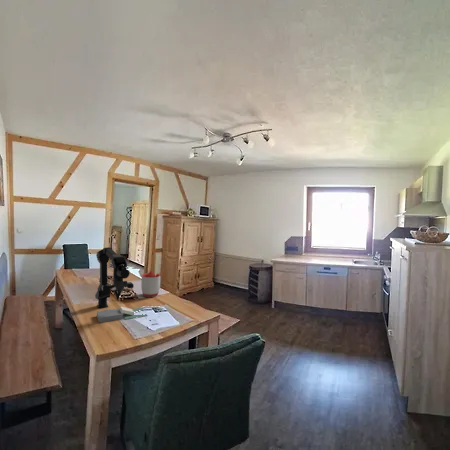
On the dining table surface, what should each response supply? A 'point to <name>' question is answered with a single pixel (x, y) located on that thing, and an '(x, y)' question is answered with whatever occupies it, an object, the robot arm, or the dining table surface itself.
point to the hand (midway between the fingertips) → (117, 299)
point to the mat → (133, 314)
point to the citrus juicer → (150, 284)
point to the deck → (109, 315)
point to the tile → (126, 310)
